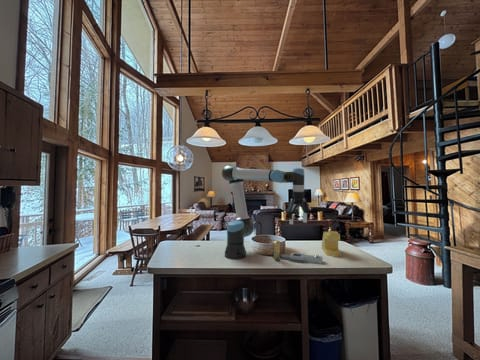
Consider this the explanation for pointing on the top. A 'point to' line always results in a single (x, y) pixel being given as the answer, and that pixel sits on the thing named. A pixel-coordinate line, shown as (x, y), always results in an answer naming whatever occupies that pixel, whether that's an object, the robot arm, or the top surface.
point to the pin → (277, 250)
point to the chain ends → (302, 258)
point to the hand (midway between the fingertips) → (298, 223)
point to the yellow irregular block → (331, 243)
